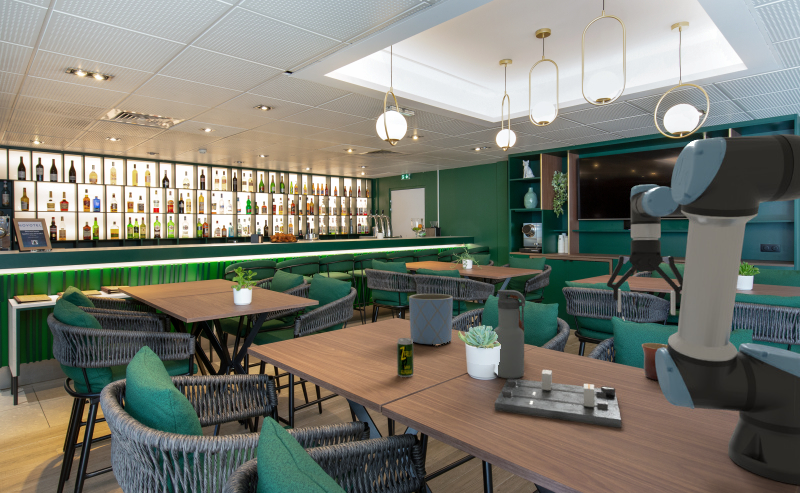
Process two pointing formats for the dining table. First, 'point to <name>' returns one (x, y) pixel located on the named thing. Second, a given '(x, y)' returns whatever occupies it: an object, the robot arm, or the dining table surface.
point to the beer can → (405, 357)
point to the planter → (431, 318)
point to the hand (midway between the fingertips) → (645, 313)
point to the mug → (651, 359)
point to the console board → (559, 402)
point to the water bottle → (510, 335)
